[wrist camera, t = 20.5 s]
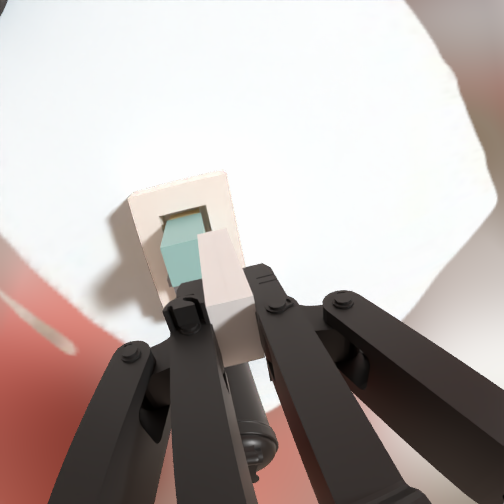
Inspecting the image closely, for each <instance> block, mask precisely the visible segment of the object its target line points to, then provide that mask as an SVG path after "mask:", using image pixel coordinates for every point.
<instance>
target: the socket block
mask: <svg viewBox="0 0 504 504" xmlns="http://www.w3.org/2000/svg"><path fill="white" fill-rule="evenodd" d="M127 199H128V202H129V206H130V209H131V213H132V216H133V220H134V223H135V226H136V230H137V233H138V236H139V239H140V242H141V245H142V249H143V252H144V255H145V258H146V261H147V264H148V267H149V270H150V272H151V275H152V278H153V281H154V284H155V287H156V289H157V292H158V295H159V298H160V300H161V303H162V306H163V308H164V307H165V306H166V305H167V304H168V303H169V302H170V301H172V300H174V299H175V298H176V293H175V290H174V287H169V284H168V281H167V276H168V272H167V269H166V265H165V262H164V259H163V256H162V253H161V250H160V246H161V242H162V238H163V234H164V230H165V226H166V222H167V221H168V220H169V219H170V215H174V214H178V213H182V212H186V211H190V210H194V209H198V208H199V211H200V212H201V216H202V220H203V224H204V228H205V232H210V231H214V230H219V229H223V228H226V229H227V231H228V234H229V236H230V239H231V241H232V244H233V246H234V249H235V251H236V254H237V256H238V259H239V261H240V264H241V266H242V268H245V262H244V257H243V252H242V247H241V243H240V238H239V233H238V228H237V223H236V218H235V213H234V208H233V203H232V198H231V193H230V189H229V184H228V179H227V174H226V172H225V171H224V170H219V171H214V172H210V173H206V174H201V175H197V176H193V177H189V178H185V179H181V180H177V181H173V182H169V183H165V184H161V185H157V186H154V187H150V188H146V189H143V190H139V191H136V192H133V193H132V194H131V195H130V196H129V197H128V198H127Z"/></svg>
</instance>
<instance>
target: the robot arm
mask: <svg viewBox="0 0 504 504" xmlns="http://www.w3.org/2000/svg"><path fill="white" fill-rule="evenodd" d="M6 3H7V0H0V16H1V14H2V12H3V10H4V8H5V5H6ZM197 238H198V248H199V257H200V265H201V274H202V279H198V280H193V281H189V282H185V283H181V284H180V286H179V287H178V289H177V290H176V298H175V299H174V300H172V301H170V302H169V303H168V304H167V305H166V306H165V307H164V309H163V314H164V317H165V320H166V322H167V325H168V327H169V330H170V337H169V338H168V339H167V340H165V341H164V342H162V343H160V344H158V345H155V346H153V347H151V348H150V347H149V345H148V344H147V343H145V342H144V341H132V342H128V343H126V344H124V345H122V346H121V347H120V348H118V349H117V350H116V352H115V353H114V355H113V356H112V359H111V360H110V362H109V364H108V366H107V368H106V370H105V372H104V374H103V376H102V378H101V380H100V382H99V384H98V386H97V388H96V390H95V393H94V395H93V397H92V399H91V401H90V403H89V405H88V407H87V410H86V412H85V414H84V416H83V418H82V420H81V423H80V425H79V427H78V429H77V432H76V434H75V436H74V438H73V441H72V443H71V445H70V448H69V450H68V453H67V455H66V458H65V460H64V462H63V465H62V467H61V470H60V472H59V475H58V477H57V480H56V483H55V485H54V488H53V490H52V493H51V496H50V499H49V502H48V504H154V502H155V497H156V493H157V488H158V483H159V479H160V474H161V469H162V466H163V461H164V457H165V453H166V448H167V444H168V440H169V435H170V431H171V430H172V448H173V463H174V476H175V487H176V496H177V497H176V498H177V504H258V502H257V499H256V495H255V491H254V487H253V484H252V480H251V476H250V472H249V468H248V464H247V460H246V456H245V452H244V448H243V444H242V440H241V436H240V432H239V428H238V423H237V419H236V415H235V410H234V406H233V401H232V397H231V392H230V388H229V383H228V378H227V375H226V372H225V369H224V367H228V366H232V365H237V364H241V363H245V362H249V361H253V360H257V359H261V358H264V357H265V356H266V361H267V366H268V371H269V377H270V381H273V383H274V386H275V389H276V392H277V394H278V397H279V400H280V403H281V405H282V408H283V411H284V413H285V416H286V419H287V422H288V424H289V427H290V430H291V432H292V435H293V438H294V441H295V443H296V446H297V448H298V451H299V454H300V456H301V459H302V461H303V464H304V467H305V469H306V472H307V474H308V477H309V480H310V482H311V485H312V487H313V490H314V492H315V495H316V498H317V500H318V503H319V504H431V502H430V501H429V499H428V498H427V497H426V495H425V494H424V493H422V492H421V491H420V490H419V489H415V488H412V487H410V486H408V485H407V484H406V483H405V481H404V480H403V478H402V477H401V475H400V473H399V471H398V470H397V468H396V466H395V464H394V463H393V461H392V459H391V457H390V456H389V454H388V452H387V451H386V449H385V448H384V446H383V444H382V442H381V440H380V439H379V437H378V435H377V434H376V432H375V431H374V429H373V427H372V425H371V423H370V422H369V420H368V419H367V417H366V415H365V413H364V412H363V410H362V408H361V407H360V405H359V403H358V402H357V400H356V398H355V397H354V395H353V393H354V394H355V395H356V396H357V397H358V398H359V399H360V400H361V401H363V403H365V404H366V405H367V406H368V407H369V408H370V409H371V410H372V411H373V412H374V413H375V414H376V415H377V416H379V417H380V418H381V419H382V420H383V421H384V422H385V423H386V424H387V425H388V426H389V427H390V428H391V429H392V430H394V431H395V432H396V433H397V434H398V435H399V436H400V437H401V438H402V439H404V441H406V442H407V443H408V444H409V445H410V446H411V447H412V448H413V449H414V450H416V451H417V452H418V453H419V454H420V455H421V456H422V457H423V458H425V459H426V460H427V461H428V462H429V463H430V464H431V465H432V466H433V467H435V468H436V469H437V470H438V471H439V472H440V473H442V474H443V475H444V476H445V477H446V478H447V479H448V480H450V481H451V482H452V483H453V484H454V485H455V486H456V487H458V488H459V489H460V490H461V491H462V492H464V493H465V494H466V495H467V496H469V497H470V498H471V499H473V500H474V501H475V502H477V503H478V504H504V390H503V389H501V388H500V387H498V386H497V385H496V384H494V383H493V382H491V381H490V380H488V379H487V378H485V377H484V376H482V375H480V374H479V373H478V372H476V371H475V370H473V369H472V368H471V367H469V366H468V365H466V364H465V363H463V362H462V361H460V360H458V359H457V358H456V357H454V356H453V355H451V354H450V353H448V352H447V351H445V350H444V349H442V348H441V347H439V346H438V345H436V344H435V343H433V342H432V341H430V340H428V339H427V338H426V337H424V336H422V335H421V334H419V333H418V332H416V331H415V330H413V329H411V328H410V327H409V326H407V325H406V324H404V323H403V322H401V321H399V320H398V319H396V318H395V317H393V316H392V315H390V314H389V313H387V312H386V311H384V310H382V309H381V308H379V307H378V306H376V305H375V304H373V303H371V302H370V301H368V300H367V299H365V298H364V297H362V296H360V295H359V294H357V293H355V292H352V291H346V290H341V291H335V292H332V293H330V294H328V295H327V296H325V298H324V299H323V305H318V306H303V305H299V304H298V303H297V301H296V300H295V299H294V298H292V297H289V296H287V295H286V293H285V291H284V290H283V288H282V286H281V285H280V283H279V281H278V280H277V278H276V276H275V275H274V273H273V271H272V269H271V268H270V267H269V266H267V265H265V264H263V263H262V264H258V265H253V266H249V267H245V268H242V266H241V264H240V261H239V259H238V256H237V254H236V251H235V249H234V246H233V244H232V241H231V239H230V236H229V234H228V231H227V229H226V228H223V229H219V230H214V231H210V232H206V233H201V234H197ZM264 353H265V355H264ZM351 391H352V392H353V393H352V392H351Z"/></svg>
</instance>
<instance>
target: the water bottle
mask: <svg viewBox="0 0 504 504" xmlns="http://www.w3.org/2000/svg"><path fill="white" fill-rule="evenodd" d="M224 369H225V372H226V375H227V378H228V383H229V388H230V392H231V397H232V401H233V406H234V410H235V415H236V419H237V423H238V428H239V432H240V436H241V440H242V444H243V448H244V452H245V456H246V460H247V464H248V468H249V472H250V476H251V480H252V483H255V482H257V481H258V480H259V477H258V476H257V475H256V472H257V471H259V470H261V469H263V468H264V467H266V466H267V465H268V464H269V463H270V462H271V461H272V460H273V458H274V456H275V454H276V452H277V450H278V441H277V438H276V436H275V433H274V431H273V429H272V428H271V427H270V426H269V423H268V420H267V417H266V414H265V411H264V409H263V406H262V403H261V400H260V397H259V394H258V391H257V388H256V385H255V382H254V379H253V376H252V373H251V370H250V367H249V364H248V362H245V363H241V364H237V365H232V366H228V367H224Z"/></svg>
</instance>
